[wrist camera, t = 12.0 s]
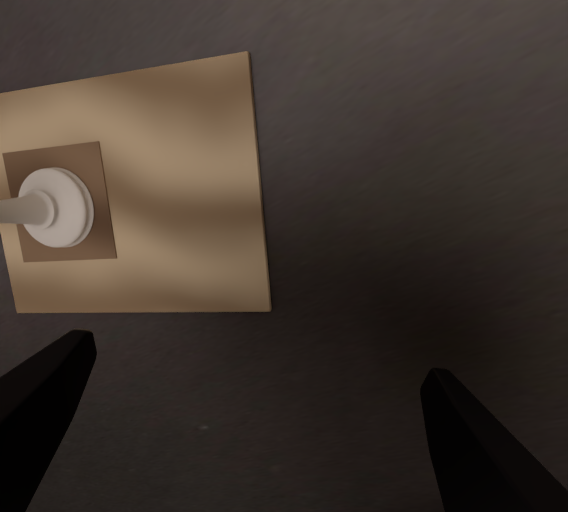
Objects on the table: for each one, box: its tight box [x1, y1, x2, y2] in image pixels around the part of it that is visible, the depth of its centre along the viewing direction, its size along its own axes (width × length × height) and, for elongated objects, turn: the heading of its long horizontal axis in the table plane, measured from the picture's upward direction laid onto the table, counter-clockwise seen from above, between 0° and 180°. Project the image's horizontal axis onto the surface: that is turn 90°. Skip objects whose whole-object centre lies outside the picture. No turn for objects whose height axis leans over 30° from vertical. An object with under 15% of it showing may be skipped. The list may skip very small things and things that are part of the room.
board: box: [0, 51, 272, 313], centre depth 22 cm, size 14×18×1 cm
